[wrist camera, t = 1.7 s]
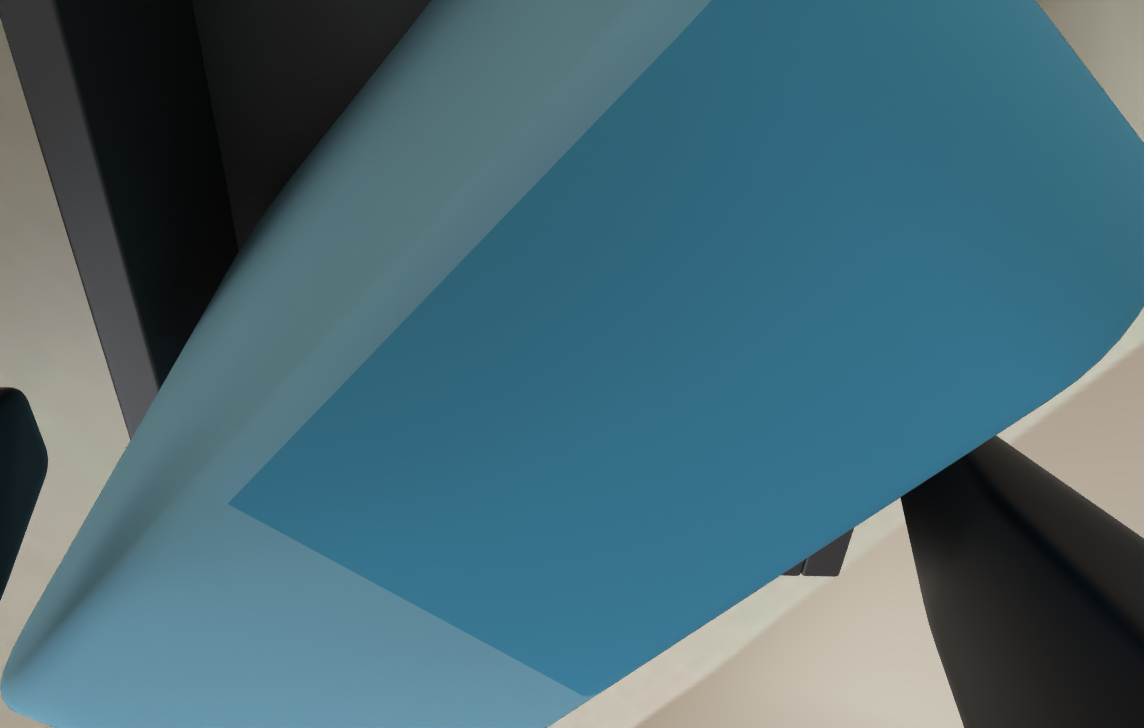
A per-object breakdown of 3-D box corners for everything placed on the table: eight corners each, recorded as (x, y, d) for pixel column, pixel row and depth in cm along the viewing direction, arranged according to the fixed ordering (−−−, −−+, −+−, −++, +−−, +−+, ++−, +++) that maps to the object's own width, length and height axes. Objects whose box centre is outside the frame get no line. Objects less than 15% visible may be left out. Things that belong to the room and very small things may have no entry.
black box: (237, 407, 22) (167, 563, 18) (37, -534, 13) (-206, -640, 9) (789, 422, 23) (839, 578, 19) (1004, -470, 13) (1202, -542, 9)
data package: (425, 342, 21) (313, 891, 11) (253, 223, 19) (-55, 757, 10) (844, -80, 16) (1288, 266, 6) (664, -296, 14) (896, -275, 4)
